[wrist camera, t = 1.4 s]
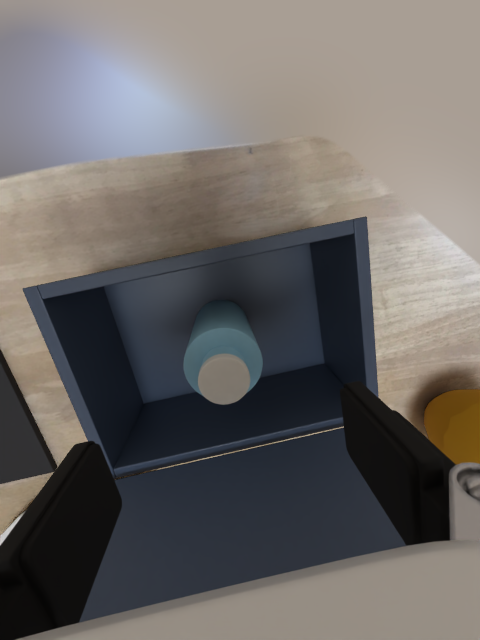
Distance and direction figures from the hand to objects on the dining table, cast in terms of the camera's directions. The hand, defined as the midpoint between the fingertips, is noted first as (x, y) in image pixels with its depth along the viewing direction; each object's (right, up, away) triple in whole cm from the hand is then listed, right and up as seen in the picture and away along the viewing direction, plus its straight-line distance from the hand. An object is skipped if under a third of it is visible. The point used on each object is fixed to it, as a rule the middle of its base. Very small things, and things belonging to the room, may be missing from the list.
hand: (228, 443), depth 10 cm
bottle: (-1, +4, +14) cm, 15 cm away
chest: (-1, +4, +15) cm, 16 cm away
